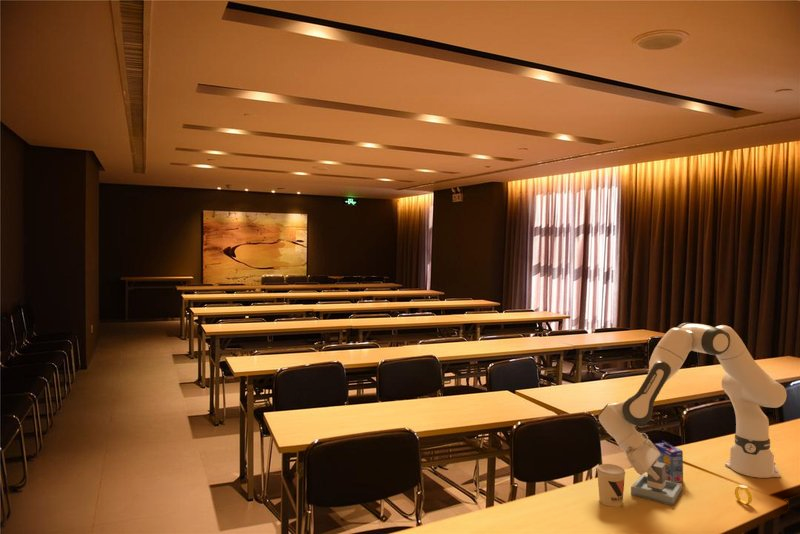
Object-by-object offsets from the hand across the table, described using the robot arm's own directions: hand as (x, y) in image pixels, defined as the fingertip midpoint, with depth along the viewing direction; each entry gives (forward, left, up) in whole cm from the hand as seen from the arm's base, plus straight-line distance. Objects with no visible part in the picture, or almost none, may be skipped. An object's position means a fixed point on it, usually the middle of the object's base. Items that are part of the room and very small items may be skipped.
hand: (660, 476), depth 199 cm
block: (0, -1, -4) cm, 5 cm away
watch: (-11, +25, -7) cm, 28 cm away
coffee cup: (+17, -12, -7) cm, 22 cm away
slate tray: (0, -1, -7) cm, 7 cm away
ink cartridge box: (-18, -1, -7) cm, 19 cm away
